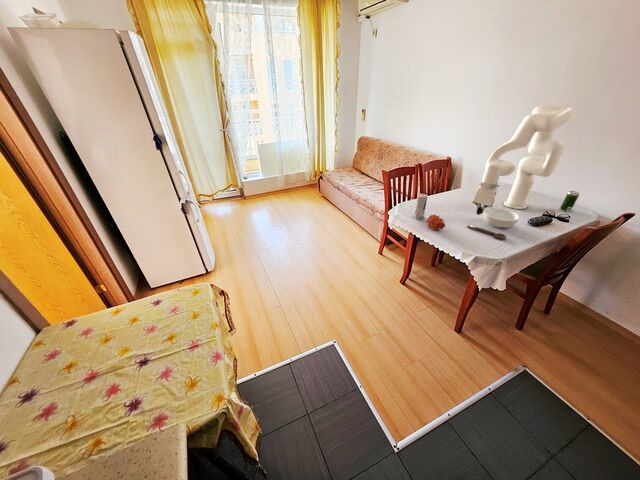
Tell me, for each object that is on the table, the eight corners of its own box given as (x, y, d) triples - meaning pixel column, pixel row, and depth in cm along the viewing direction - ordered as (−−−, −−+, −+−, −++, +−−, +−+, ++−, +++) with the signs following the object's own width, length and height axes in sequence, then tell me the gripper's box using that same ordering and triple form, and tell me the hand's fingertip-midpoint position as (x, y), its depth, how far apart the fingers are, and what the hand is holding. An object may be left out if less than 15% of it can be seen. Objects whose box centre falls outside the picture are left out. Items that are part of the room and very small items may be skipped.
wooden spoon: (465, 228, 146) (466, 225, 145) (469, 225, 149) (470, 222, 148) (503, 241, 133) (504, 238, 133) (506, 237, 136) (507, 234, 135)
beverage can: (424, 219, 158) (428, 197, 150) (414, 219, 159) (418, 196, 151) (422, 215, 163) (426, 193, 155) (413, 215, 164) (417, 193, 156)
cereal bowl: (478, 226, 148) (481, 215, 144) (483, 215, 158) (487, 205, 155) (512, 234, 138) (517, 223, 135) (516, 222, 149) (520, 211, 145)
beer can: (572, 211, 157) (582, 193, 150) (564, 212, 157) (573, 194, 150) (565, 208, 161) (574, 190, 155) (557, 208, 161) (566, 191, 155)
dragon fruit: (425, 225, 155) (441, 236, 147) (420, 221, 149) (436, 232, 141) (435, 214, 152) (451, 224, 144) (429, 209, 146) (446, 220, 138)
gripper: (505, 186, 141) (494, 215, 150) (477, 180, 151) (468, 208, 160) (500, 189, 137) (489, 219, 146) (471, 183, 146) (463, 212, 156)
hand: (478, 213), depth 153 cm, fingers closed
